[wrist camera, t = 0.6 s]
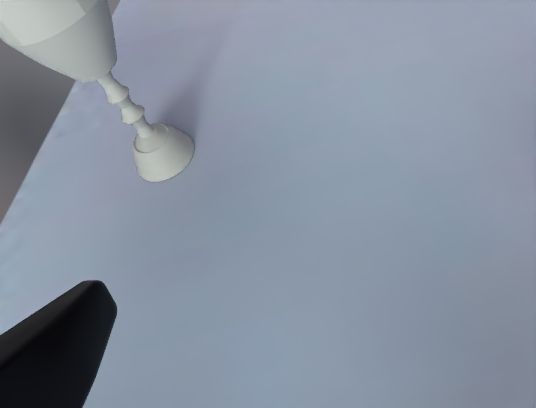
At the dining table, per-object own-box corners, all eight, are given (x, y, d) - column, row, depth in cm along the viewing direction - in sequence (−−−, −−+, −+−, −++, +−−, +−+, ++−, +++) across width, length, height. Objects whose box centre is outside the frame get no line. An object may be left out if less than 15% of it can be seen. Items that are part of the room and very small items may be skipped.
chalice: (131, 207, 32) (-105, -19, 17) (118, 149, 36) (-83, -75, 21) (217, 163, 32) (54, -102, 17) (194, 110, 35) (46, -142, 21)
